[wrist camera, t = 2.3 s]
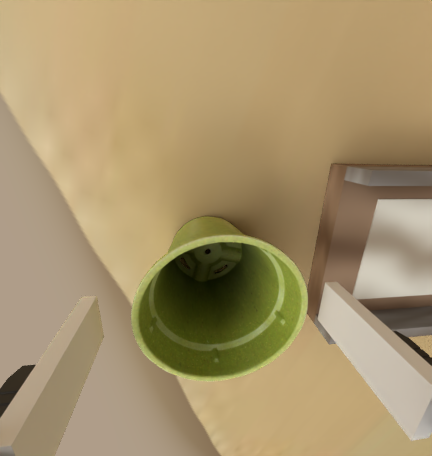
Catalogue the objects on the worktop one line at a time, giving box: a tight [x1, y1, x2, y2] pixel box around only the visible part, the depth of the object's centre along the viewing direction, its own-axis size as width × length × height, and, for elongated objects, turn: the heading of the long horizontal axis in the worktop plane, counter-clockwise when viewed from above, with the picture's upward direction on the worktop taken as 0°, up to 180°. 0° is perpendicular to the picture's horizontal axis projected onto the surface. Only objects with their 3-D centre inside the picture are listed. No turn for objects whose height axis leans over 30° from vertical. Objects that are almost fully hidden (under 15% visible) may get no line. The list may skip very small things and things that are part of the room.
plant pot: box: [131, 216, 308, 381], centre depth 16 cm, size 9×9×9 cm
